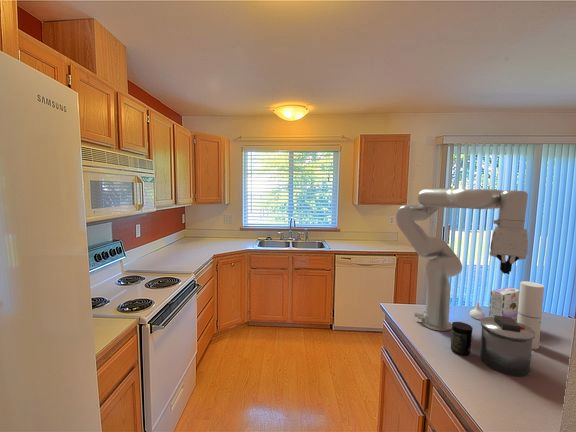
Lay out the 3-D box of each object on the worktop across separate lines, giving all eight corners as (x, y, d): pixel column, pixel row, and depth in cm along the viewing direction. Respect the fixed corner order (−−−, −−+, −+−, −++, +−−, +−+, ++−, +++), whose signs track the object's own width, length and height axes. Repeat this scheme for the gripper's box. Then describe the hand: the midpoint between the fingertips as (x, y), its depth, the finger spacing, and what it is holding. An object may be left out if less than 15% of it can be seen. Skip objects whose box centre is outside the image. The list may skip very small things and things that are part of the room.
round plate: (474, 317, 107) (475, 308, 107) (521, 323, 102) (522, 315, 102) (488, 335, 93) (488, 325, 92) (544, 344, 87) (544, 333, 87)
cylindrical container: (510, 339, 114) (515, 281, 112) (526, 339, 115) (531, 281, 113) (527, 349, 107) (532, 287, 105) (543, 348, 108) (549, 287, 106)
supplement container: (468, 359, 101) (470, 332, 100) (448, 351, 105) (449, 325, 105) (472, 351, 106) (474, 325, 105) (452, 344, 110) (454, 320, 109)
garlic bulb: (487, 321, 132) (490, 305, 131) (474, 320, 132) (477, 304, 131) (478, 315, 138) (481, 300, 137) (466, 314, 138) (468, 299, 137)
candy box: (507, 319, 133) (509, 286, 131) (521, 324, 127) (524, 290, 126) (487, 324, 128) (490, 289, 127) (501, 330, 122) (504, 294, 121)
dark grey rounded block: (487, 371, 94) (489, 337, 93) (475, 349, 107) (477, 319, 106) (538, 381, 89) (541, 345, 88) (518, 356, 102) (521, 326, 101)
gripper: (489, 224, 99) (483, 272, 102) (541, 227, 94) (534, 279, 96) (483, 221, 106) (478, 267, 108) (532, 224, 101) (526, 272, 103)
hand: (505, 272), depth 102 cm, fingers closed
